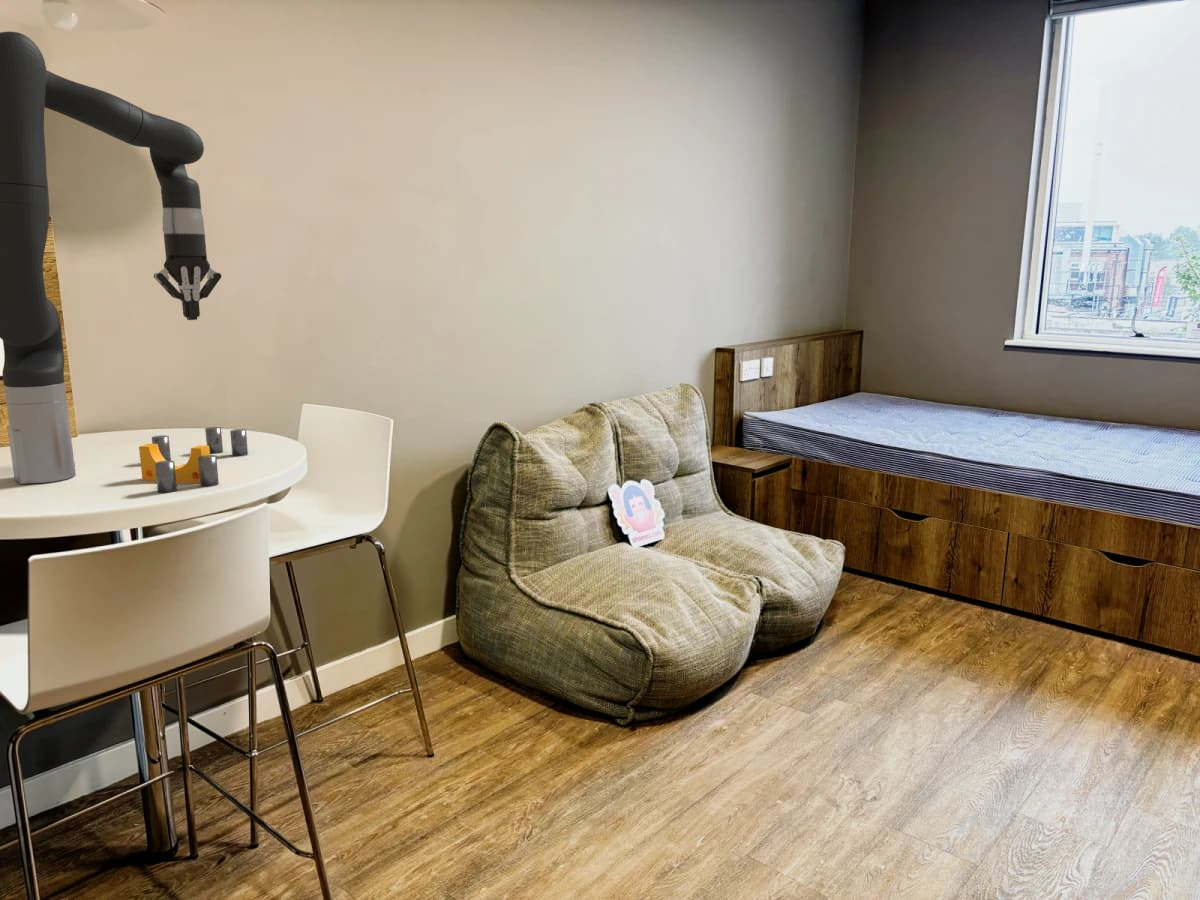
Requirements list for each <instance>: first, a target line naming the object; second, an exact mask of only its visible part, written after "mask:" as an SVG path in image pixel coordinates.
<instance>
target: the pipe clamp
mask: <svg viewBox="0 0 1200 900" xmlns="http://www.w3.org/2000/svg"><path fill="white" fill-rule="evenodd" d="M138 451H139V460H140V461H139V462H140V468H141V469H140V470H141V480H142V481H143V480H148V481H147V482H157V479H156V469H155V463H156V462H159V461H166V460H165V459H164V458H163V456H162V455H161V453H160V451H159V447H158V444H152V443H146V444H143V445H139V446H138ZM204 455H211V453H210V449H209V446H207V445H199V444H198V445H197V446H194V447H191V448H190V455H189V458H188V460H187V462H186V463H184V464H182V465H181V464H180V465H175V474H176V483H191V484H194V483H195V484H197V483H198V484H200V476H199V465H198V457H199V456H204Z"/></svg>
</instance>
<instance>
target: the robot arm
mask: <svg viewBox="0 0 1200 900" xmlns="http://www.w3.org/2000/svg"><path fill="white" fill-rule="evenodd" d="M45 109H49V110H51V111H53V112H56V113H58V114H61V115H63V116H66V117H68V118H70V119H73V120H76V121H78V122H80V123H82V124H84V125H87V126H88V127H91V128H94V129H96V130H97V131H100V132H101V133H104V134H105V135H106V134H107V135H108V136H110V137H113V138H115V139H117V140H120V141H122V142H124V143H126V144H129V145H132V146H135V147H138V148H139V147H140V148H149V155H150V159H151V162H152V166H153V170H154V172H155V175H156V178H157V180H158V182H159V186H160V194H161V203H162V232H163V241H164V250H165V253H164V254H165V261H164V263H163V268H162V269H161V270H159V272H155V273H154V274H153V279H155V280H156V281H157V282H158V284H160V286H161V287H162V288H163V289H164V290H165V291H166V292H167V293H168V294H169V295H170V297H172V298H174V299H176V300H179V301H181V305H182V315H183V317H184V318H186V320H187V321H197V320H198V318H199V317H200V315H201V312H200V300H202V299H206V298H208V297H209V295H210V294H211V293H212V291H213V290H214V289H215V287H216V286H217V285H218V282H220V280H221V278H222V274H221V273H220V272H217V271H215V270H214V269H212V267H211V265H210V263H209V261H208V258H207V256H208V255H207V246H206V245H207V244H206V234H205V233H206V232H205V223H204V222H205V221H204V216H203V212H202V203H201V192H200V187H199V183H198V182H197V180H195V179H193V178H190V177H189V175H188V172H187V169H186V165H191V164H194V163H196V162H198V161H200V159H201V158H202V157H203V156H204V155H203V154H204V152H205V150H204V149H205V147H204V146H205V145H204V143H203V142H204V141H203V140H202V138H201V136H200V135H199V134H198V133H197V131H195V130H194V129H193V128H191V127H190V126H188V125H186V124H184V123H181V122H179V121H176V120H173V119H170V118H167V117H165V116H161V115H159V114H158V115H157V114H155V113H151V112H149V111H146V110H145V109H143V108H141V107H139V106H138V105H136V104H133V103H131V102H130V101H128V100H125V99H123V98H120V97H118V96H116V95H114V94H112V93H109V92H107V91H104V90H102V89H98V88H95V87H92V86H89V85H86V84H82V83H79V82H76V81H74V80H71V79H67V78H66V77H62V76H60V75H59V74H55V73H54V72H51V71H50V70H47V65H46V61H45V57H44V55H43V54H42V51H41V49H40V48H39V47H38V45H37V44H36V43H35V41H33V40H32V39H30V37H28V36H27V35H25V34H23V33H21V32H17V31H1V32H0V339H1V340H2V346H3V356H4V361H3V367H2V381H3V382H2V383H3V388H4V389H3V390H4V394H5V395H4V397H5V403H6V411H7V417H8V425H9V426H8V427H7V434H8V441H9V447H10V448H9V450H10V455H11V464H12V469H13V470H12V471H13V478H14V479H15V481H17V483H18V484H19V485H25V484H41V483H43V484H44V483H52V482H58V481H59V482H60V481H63V480H67V479H70V478H73V477H75V476H76V475H77V474H76V463H75V458H74V457H75V456H74V450H73V449H74V448H73V441H72V432H71V423H70V415H69V408H68V399H67V390H66V383H65V372H64V371H65V352H64V341H63V332H62V325H61V324H62V323H61V318H60V314H59V313H60V312H59V311H58V309H57V307H56V306H55V304H54V303H53V302H52V301H51V300H50V299H48V298H47V293H46V292H47V291H46V286H45V279H44V256H45V255H44V254H45V251H46V245H47V239H48V234H49V233H48V232H49V225H50V224H49V223H50V198H49V197H50V195H49V184H48V173H47V171H48V170H47V154H46V139H45V138H46V137H45ZM170 277H171V278H172V279H173V281H175V282H176V283H177V286H178V289H177V288H176V287H175V286H174V285H173V284H172V283H171V281H170ZM205 277H206V279H207V281H206V282H205V283H204V285H203V286H202V288H201V283H202V281H203V280H204V279H205Z"/></svg>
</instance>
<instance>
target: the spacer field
mask: <svg viewBox="0 0 1200 900" xmlns="http://www.w3.org/2000/svg"><path fill="white" fill-rule="evenodd" d="M204 430H205V441H206V446H209V449H210V455H204V456H199V457H198V465H199V476H200V483H199V485H200V486H201V487H215V486H218V485H219V484H220V483H219V473H218V472H219V470H218V460H217V459H218V457H217V455H216V454H220V453H223V452H224V450H223V449H224V447H223V434H222V433H223V432H222V427H221V426H210V427H206V428H205V429H204ZM229 432H230V444H231V453H232V454H231V455H232V456H233V457H243V456H244V455H245V456H247V455H249V449H248V437H247V429H244V428H242V429H241V428H239V429H231V430H230V431H229ZM151 444H158V447H159V451H160V453H161V455H162V456H163V458H164V459H165V460H166V461H159V462H156V463H155V469H156V479H157V481H156V485H157V486H156V487H157V493H160V494H168V493H170V494H171V493H173V492H177V490H178V487H177V486H178V485H177V482H176V474H175V466H176V464H175V460H172V456H171V447H170V437H169V435H153V436H151ZM214 454H215V455H214ZM245 456H244V457H245Z"/></svg>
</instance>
